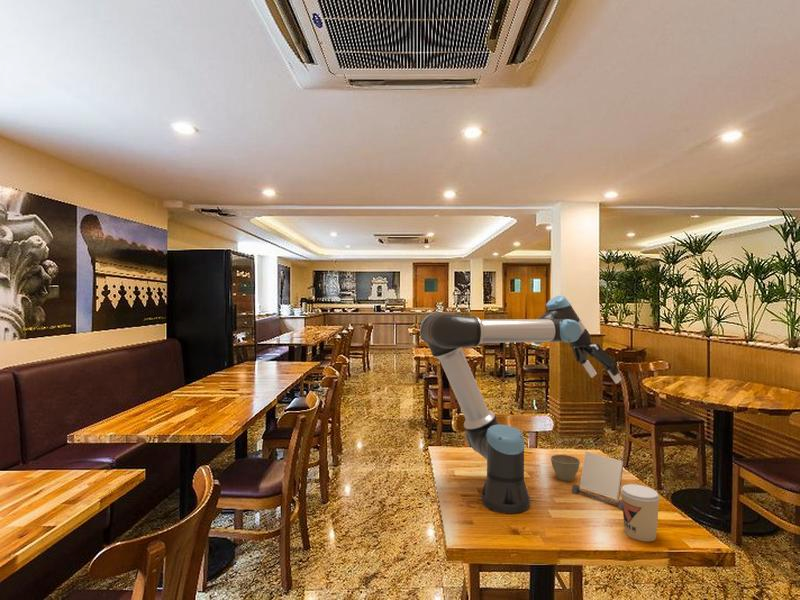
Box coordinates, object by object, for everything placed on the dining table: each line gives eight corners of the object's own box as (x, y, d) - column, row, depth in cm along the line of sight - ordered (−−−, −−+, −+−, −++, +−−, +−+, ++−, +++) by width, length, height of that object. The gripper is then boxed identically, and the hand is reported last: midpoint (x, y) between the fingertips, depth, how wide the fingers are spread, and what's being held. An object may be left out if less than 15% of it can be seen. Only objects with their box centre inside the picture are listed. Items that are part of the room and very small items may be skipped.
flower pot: (584, 484, 154) (584, 463, 154) (556, 483, 154) (556, 463, 154) (573, 473, 164) (573, 454, 164) (547, 473, 164) (547, 454, 164)
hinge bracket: (623, 510, 134) (623, 502, 134) (572, 492, 147) (572, 485, 147) (626, 508, 136) (626, 500, 136) (575, 491, 148) (575, 484, 148)
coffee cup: (614, 526, 125) (614, 484, 125) (645, 524, 125) (645, 483, 126) (634, 543, 116) (633, 498, 116) (667, 542, 116) (667, 497, 116)
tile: (618, 500, 137) (616, 499, 137) (581, 488, 146) (579, 487, 146) (623, 461, 140) (621, 460, 139) (587, 451, 149) (585, 451, 148)
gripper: (606, 329, 150) (637, 377, 152) (563, 325, 174) (591, 367, 176) (590, 342, 148) (622, 391, 151) (550, 336, 172) (578, 378, 175)
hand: (605, 378), depth 164 cm, fingers open, 13 cm apart
